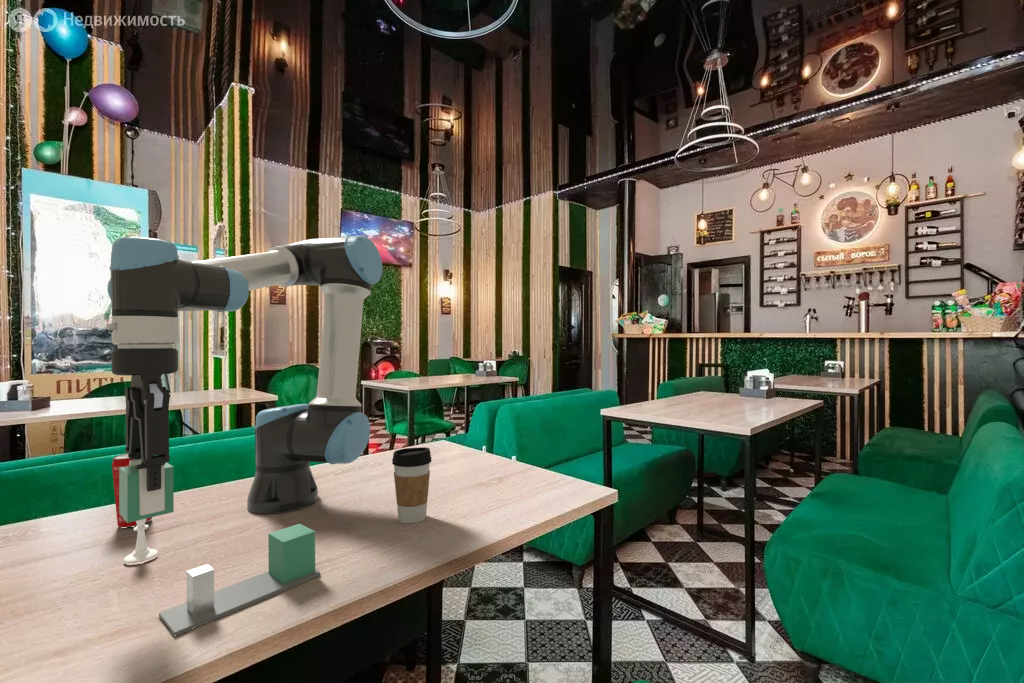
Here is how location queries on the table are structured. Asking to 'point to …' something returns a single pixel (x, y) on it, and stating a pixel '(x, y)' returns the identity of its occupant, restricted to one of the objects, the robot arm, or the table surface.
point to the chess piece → (141, 545)
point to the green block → (131, 493)
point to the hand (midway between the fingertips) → (146, 507)
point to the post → (200, 589)
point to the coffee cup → (411, 483)
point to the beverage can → (118, 463)
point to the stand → (257, 579)
